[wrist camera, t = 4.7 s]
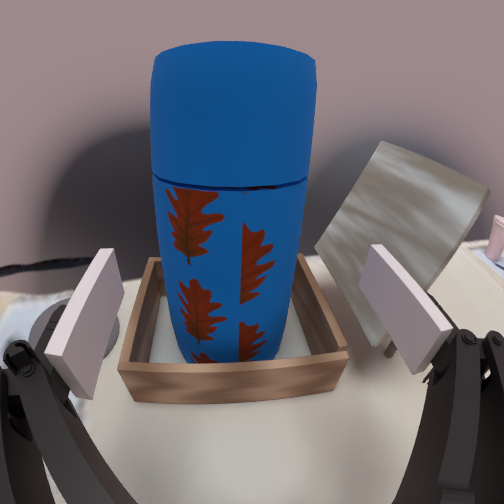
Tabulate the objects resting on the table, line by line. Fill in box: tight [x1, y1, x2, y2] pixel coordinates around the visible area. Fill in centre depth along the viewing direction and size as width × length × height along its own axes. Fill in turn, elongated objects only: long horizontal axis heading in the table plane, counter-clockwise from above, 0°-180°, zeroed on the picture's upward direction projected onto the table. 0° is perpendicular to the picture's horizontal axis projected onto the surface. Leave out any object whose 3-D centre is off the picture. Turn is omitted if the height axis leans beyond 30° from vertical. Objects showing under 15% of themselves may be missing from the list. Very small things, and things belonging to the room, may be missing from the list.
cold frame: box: [117, 141, 491, 404], centre depth 23 cm, size 26×16×20 cm, turn 97°
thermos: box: [150, 41, 317, 364], centre depth 21 cm, size 11×11×25 cm
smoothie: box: [486, 215, 504, 262], centre depth 42 cm, size 6×6×14 cm
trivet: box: [29, 298, 119, 359], centre depth 25 cm, size 12×12×1 cm
